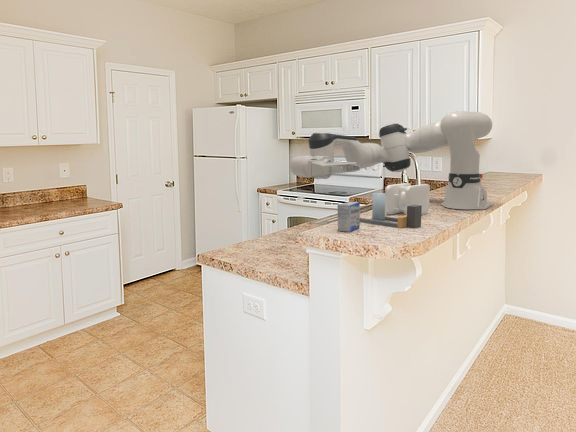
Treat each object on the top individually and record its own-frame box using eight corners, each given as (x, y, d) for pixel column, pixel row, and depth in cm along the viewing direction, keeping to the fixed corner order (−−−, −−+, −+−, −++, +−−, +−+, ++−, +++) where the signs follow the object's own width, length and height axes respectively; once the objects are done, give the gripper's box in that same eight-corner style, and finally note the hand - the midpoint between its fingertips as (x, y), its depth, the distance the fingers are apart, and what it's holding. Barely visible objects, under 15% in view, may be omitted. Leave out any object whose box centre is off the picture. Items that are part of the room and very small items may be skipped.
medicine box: (349, 232, 146) (350, 205, 144) (337, 231, 148) (337, 204, 147) (359, 228, 152) (360, 202, 151) (347, 226, 155) (347, 201, 153)
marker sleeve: (376, 220, 166) (377, 192, 165) (387, 221, 163) (387, 193, 162) (369, 221, 163) (370, 193, 162) (380, 223, 160) (380, 194, 159)
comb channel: (375, 218, 170) (375, 199, 169) (425, 225, 156) (426, 204, 155) (358, 221, 163) (358, 202, 162) (409, 229, 149) (410, 207, 148)
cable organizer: (406, 218, 169) (407, 186, 167) (383, 215, 177) (384, 184, 175) (429, 213, 179) (430, 183, 177) (406, 210, 187) (407, 182, 185)
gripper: (340, 173, 187) (368, 175, 177) (305, 177, 173) (333, 179, 163) (340, 158, 186) (368, 159, 176) (304, 160, 172) (333, 161, 162)
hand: (351, 168), depth 169 cm, fingers open, 8 cm apart
